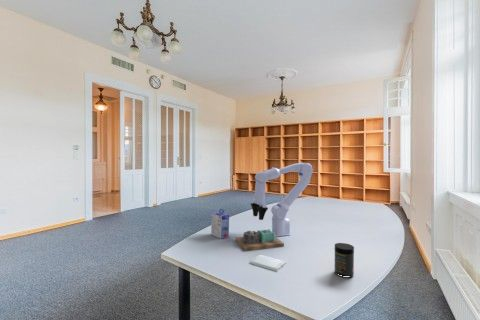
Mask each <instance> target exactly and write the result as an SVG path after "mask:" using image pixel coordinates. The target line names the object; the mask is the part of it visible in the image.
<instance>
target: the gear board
mask: <svg viewBox="0 0 480 320" xmlns="http://www.w3.org/2000/svg"><path fill="white" fill-rule="evenodd" d="M263 230H264V233H269V231H268V229H263ZM235 242H236V243H237V244H238V245H239V246H240V247H241V248H242V249H243V251H245V252H250V251H258V250H267V249H274V248H283V247H285V242H284V241H282V240H280V239H278V237H275V241H267V242H264V243H263V242H262V241H261V240H260V233H259V232H257V231H256V230H247V231H245V232H243V236H238V237H235Z"/></svg>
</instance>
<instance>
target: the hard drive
mask: <svg viewBox="0 0 480 320" xmlns="http://www.w3.org/2000/svg"><path fill="white" fill-rule="evenodd" d="M249 264H251V265H254V266H257V267H261V268H264V269H267V270H270V269H271V271H274V272H277V271H278V270H279V271H280V270H281V269H282V268H283V267H285V266H286V265H287V261H285V260H282V259H276V258H273V257H270V256H266V255H262V254H259V255H257V256H255V257H254V258H252V259H251V260H250V261H249ZM285 264H286V265H285ZM284 265H285V266H284ZM279 271H278V272H279Z"/></svg>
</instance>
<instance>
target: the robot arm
mask: <svg viewBox="0 0 480 320" xmlns="http://www.w3.org/2000/svg"><path fill="white" fill-rule="evenodd" d="M291 172H297V174H298V177H299V180H298V181H297V182H296V184H295V185H294V186H293V187H292V188H291V189H290V191H289V192H288V193H287V194H286V195H285V196H284V198H283V199H282V200H280V201H279V202H277V204H274V205H273V206H272V207H271V214H272V217H271V231H272V232H274V233H275V237H276V238H278V237H282V236H283V237H284V236H290V235H291V228H290V227H291V224H290V223H291V222H290V219H289V218H288V217H286V216H287V213H288V212H289V211H290V206H291V205H292V204H293V203H294V202H295V201H296V200H297V198H298V197H299V196H300V195H301V193H303V191H304V190H305V189H306V188H307V187H308V186H309V184H310V183H311V178H312V175H313V173H314V170H313V166H312V164H311V163H308V162H299V163H293V164H290V165H287V166H283V167H281V168H277V167H271V168H270V169H267V170H264V169H263V170H262V171H259V172H256V174H255V176H254V179H255V186H254V198H253V199H252V201H251V202H252V203H250V206H251V209H252V215H253V217H258V220H259V221H263V220H264V218H265V215H266V212H267V211H268V209H269V207H267V206H268V205H267V203H266V198H265V197H266V182H268V181H271V180H275V179H278V178H279V177H281V175H284V174H287V173H291Z"/></svg>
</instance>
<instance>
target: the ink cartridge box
mask: <svg viewBox="0 0 480 320" xmlns="http://www.w3.org/2000/svg"><path fill="white" fill-rule="evenodd" d="M224 212H225V209H223V208H219V211H218V212H211V220H210V221H211V223H210V224H211V226H210V230H211V231H210V232H211V233H210V235H211V236H214V237H216V238H218V239H221V240H222V239H226V238H229V237H230V235H229V234H230V214H228V213H224Z"/></svg>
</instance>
